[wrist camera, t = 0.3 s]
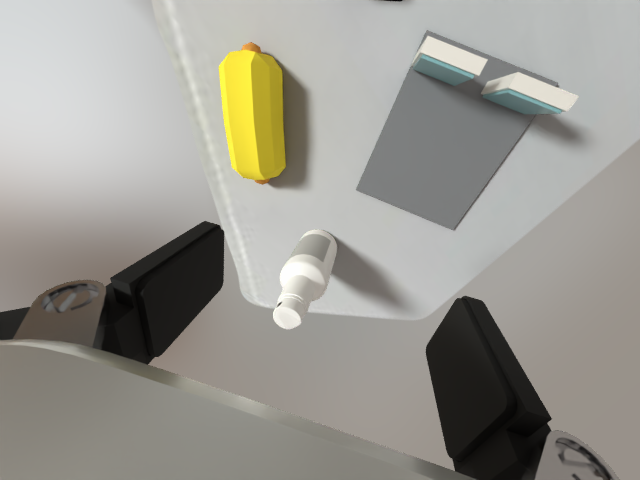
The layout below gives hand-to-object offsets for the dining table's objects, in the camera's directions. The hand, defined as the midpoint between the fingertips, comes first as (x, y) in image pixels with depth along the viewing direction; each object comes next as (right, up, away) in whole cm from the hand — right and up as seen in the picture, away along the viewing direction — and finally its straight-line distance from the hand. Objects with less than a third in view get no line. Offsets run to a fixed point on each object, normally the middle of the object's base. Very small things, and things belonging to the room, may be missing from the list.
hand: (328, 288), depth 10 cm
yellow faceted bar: (-9, +20, +27) cm, 34 cm away
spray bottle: (-1, +1, +34) cm, 34 cm away
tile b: (+22, +19, +19) cm, 35 cm away
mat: (+16, +15, +23) cm, 32 cm away
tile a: (+14, +22, +19) cm, 32 cm away
